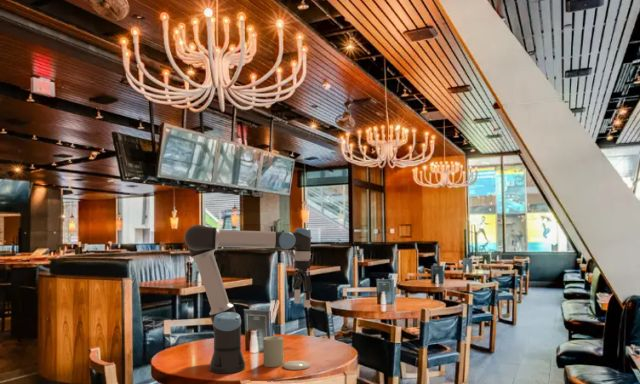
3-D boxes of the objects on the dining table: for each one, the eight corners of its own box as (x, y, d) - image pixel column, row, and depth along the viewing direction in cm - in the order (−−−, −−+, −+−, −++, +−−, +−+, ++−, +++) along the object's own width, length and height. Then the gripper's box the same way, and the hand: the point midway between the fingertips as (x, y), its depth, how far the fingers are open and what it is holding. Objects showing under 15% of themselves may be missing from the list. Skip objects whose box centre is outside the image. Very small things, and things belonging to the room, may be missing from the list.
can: (274, 368, 223) (273, 340, 224) (258, 365, 229) (258, 337, 230) (288, 363, 230) (287, 336, 231) (272, 360, 236) (272, 334, 237)
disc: (287, 371, 218) (287, 368, 218) (279, 364, 229) (279, 362, 229) (314, 368, 222) (314, 365, 222) (305, 361, 233) (305, 359, 233)
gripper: (319, 261, 237) (319, 308, 235) (301, 258, 260) (300, 301, 258) (304, 261, 234) (303, 309, 232) (287, 258, 257) (286, 301, 255)
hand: (301, 305), depth 245 cm, fingers open, 13 cm apart
